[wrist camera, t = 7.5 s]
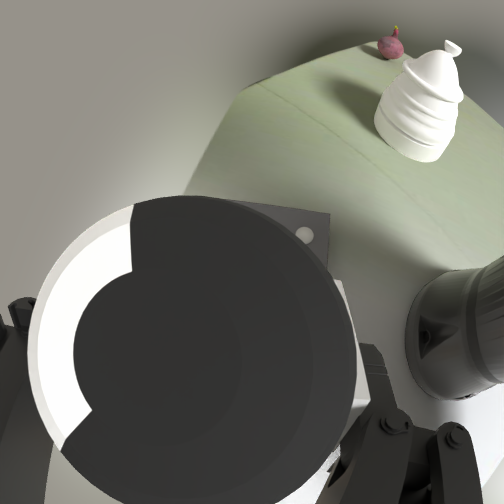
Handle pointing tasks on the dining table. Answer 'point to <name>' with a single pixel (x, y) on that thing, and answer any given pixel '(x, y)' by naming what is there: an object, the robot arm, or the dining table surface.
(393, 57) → the vegetable
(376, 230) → the dining table surface
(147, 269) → the medicine bottle
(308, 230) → the power strip
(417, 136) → the honey pot
